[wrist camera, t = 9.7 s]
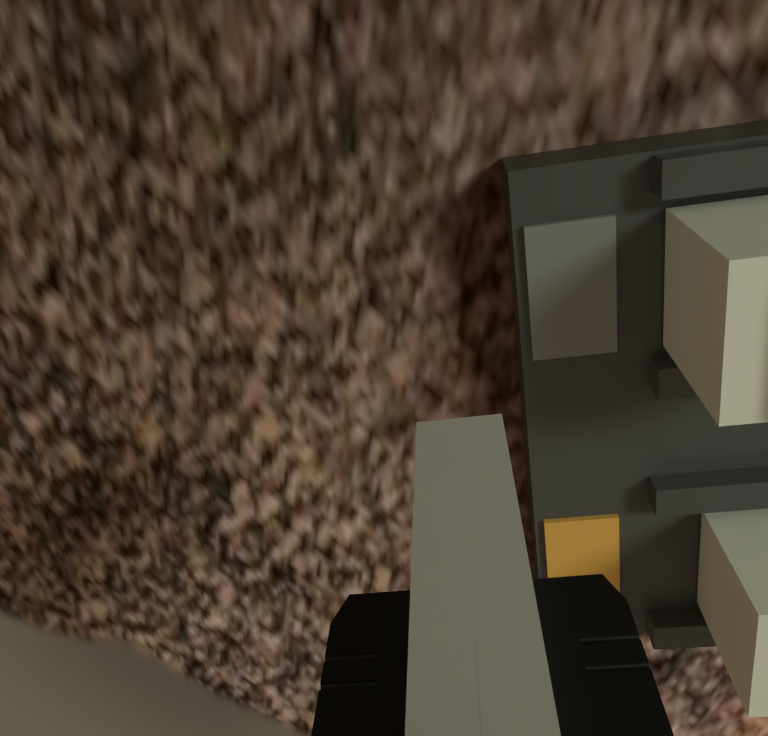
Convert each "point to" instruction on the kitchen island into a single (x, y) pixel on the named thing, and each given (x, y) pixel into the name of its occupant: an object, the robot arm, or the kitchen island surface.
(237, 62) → the kitchen island surface
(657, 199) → the switch bank
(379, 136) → the kitchen island surface
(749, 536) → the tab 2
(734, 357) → the white slider knob
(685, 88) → the kitchen island surface
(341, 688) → the robot arm
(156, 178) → the kitchen island surface
